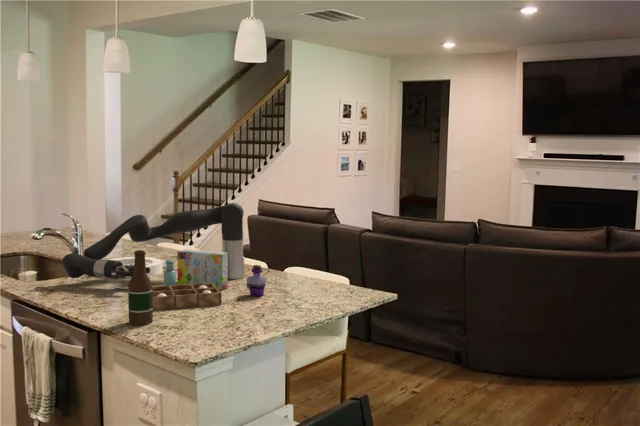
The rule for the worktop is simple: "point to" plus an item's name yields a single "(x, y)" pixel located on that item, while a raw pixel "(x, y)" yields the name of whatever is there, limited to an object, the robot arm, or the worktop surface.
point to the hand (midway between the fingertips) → (143, 272)
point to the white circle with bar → (150, 263)
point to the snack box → (203, 268)
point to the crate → (185, 296)
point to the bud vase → (169, 273)
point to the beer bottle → (140, 293)
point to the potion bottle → (256, 282)
